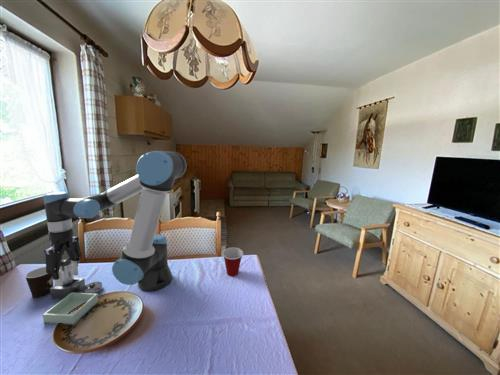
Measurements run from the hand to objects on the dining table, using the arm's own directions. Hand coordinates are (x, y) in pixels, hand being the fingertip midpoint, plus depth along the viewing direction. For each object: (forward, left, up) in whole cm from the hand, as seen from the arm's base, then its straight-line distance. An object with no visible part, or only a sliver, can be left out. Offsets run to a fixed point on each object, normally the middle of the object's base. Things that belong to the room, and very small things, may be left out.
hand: (67, 279), depth 91 cm
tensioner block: (0, 0, -7) cm, 7 cm away
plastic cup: (-70, -20, -7) cm, 73 cm away
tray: (-11, +10, -7) cm, 16 cm away
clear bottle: (0, 0, -7) cm, 7 cm away
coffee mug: (+11, -1, -7) cm, 13 cm away
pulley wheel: (-9, -2, -7) cm, 11 cm away
